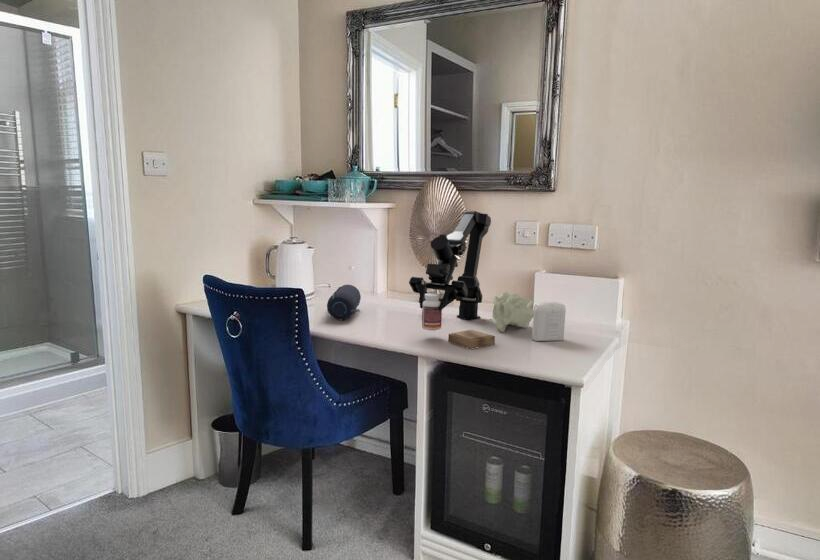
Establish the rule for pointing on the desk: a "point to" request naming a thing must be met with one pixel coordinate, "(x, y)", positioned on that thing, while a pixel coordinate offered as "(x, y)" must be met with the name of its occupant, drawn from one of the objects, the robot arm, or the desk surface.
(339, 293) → the portable speaker
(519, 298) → the wavy plaster lump
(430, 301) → the pill bottle
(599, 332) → the desk surface
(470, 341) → the plinth
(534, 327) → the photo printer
